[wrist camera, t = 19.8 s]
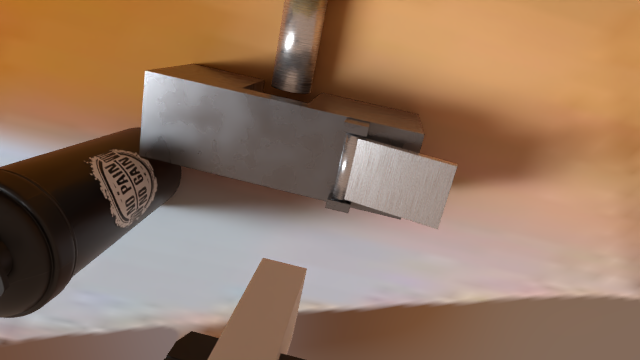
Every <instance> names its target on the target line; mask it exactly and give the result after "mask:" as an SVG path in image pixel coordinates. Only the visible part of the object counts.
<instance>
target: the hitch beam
mask: <svg viewBox="0 0 640 360" xmlns="http://www.w3.org/2000/svg"><path fill="white" fill-rule="evenodd" d="M264 81H265V80H263V79H259V78H254V77H250V76H245V75H241V74H236V73H232V72H228V71H223V70H219V69H214V68H210V67H205V66H201V65H196V64H188V65H181V66H174V67H167V68H160V69H153V70H146V71H145V80H144V94H143V108H142V122H141V136H140V150H139V156H143V157H147V158H152V159H156V160H160V161H164V162H168V163H172V164H176V165H180V166H184V167H188V168H192V169H196V170H201V171H205V172H209V173H213V174H217V175H221V176H225V177H229V178H233V179H237V180H241V181H245V182H250V183H254V184H258V185H262V186H266V187H270V188H274V189H278V190H282V191H286V192H290V193H294V194H299V195H303V196H307V197H311V198H315V199H319V200H323V201H327V202H326V207H325V208H329V209H333V210H337V211H341V212H345V213H348V212H349V208H350V207H352V208H356V209H360V210H364V211H368V212H372V213H376V214H380V215H384V216H388V217H392V218H396V219H401V217H398V216H395V215H392V214H389V213H386V212H382V211H379V210H376V209H373V208H370V207H367V206H364V205H361V204H358V203H355V202H351V201H348V200H338V199H336V198H334V197H333V191H334V187H335V182H336V178H337V173H338V169H339V164H340V160H341V155H342V151H343V146H344V142H345V138H346V133H352V134H357V135H361V136H362V137H363V138H367V139H370V140H374V141H378V142H381V143H385V144H388V145H392V146H395V147H399V148H403V149H406V150H410V151H413V152H417V153H419V152H420V149H421V145H422V142H423V138H424V135H425V134H424V131H423V128H422V125H421V121H420V118H419V115H418V114H414V113H410V112H405V111H401V110H396V109H392V108H388V107H383V106H379V105H374V104H370V103H365V102H361V101H356V100H352V99H348V98H343V97H339V96H334V95H330V94H325V93H321V94H320V95H318V96H317V97H316V98H315V99H313V100H312V101H311V102H310V103H306V102H301V101H297V100H293V99H288V98H284V97H279V96H275V95H271V94H266V93H263V88H264Z"/></svg>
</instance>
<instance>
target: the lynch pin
mask: <svg viewBox="0 0 640 360" xmlns="http://www.w3.org/2000/svg"><path fill="white" fill-rule="evenodd" d="M327 2H328V0H285V2H284V9H283V15H282V21H281V28H280V34H279V40H278V47H277V53H276V59H275V66H274V72H273V78H272V84H271V86H272V87H274V88H277V89H280V90H284V91H288V92H293V93H301V94H309V93H311V87H312V82H313V77H314V71H315V66H316V61H317V55H318V50H319V45H320V39H321V34H322V29H323V23H324V18H325V13H326V7H327Z"/></svg>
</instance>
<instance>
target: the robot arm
mask: <svg viewBox="0 0 640 360" xmlns="http://www.w3.org/2000/svg"><path fill="white" fill-rule="evenodd" d="M306 270H307V269H306V268H302V267H298V266H294V265H290V264H286V263H282V262H278V261H274V260H270V259H266V258H263V259H262V261H261V262H260V264H259V266H258V268H257V270H256V272H255V273H254V275H253V277H252V279H251V281H250V283H249V284H248V286H247V288H246V290H245V292H244V294H243V295H242V297H241V299H240V301H239V303H238V305H237V306H236V308H235V310H234V312H233V314H232V316H231V317H230V319H229V321H228V323H227V325H226V327H225V328H224V330H223V332H222V334H221V336H220V338H216V337H212V336H208V335H204V334H201V333H197V332H193V331H191V332H190V333H188V334H187V335H185V336H184V337H182V338H181V339H179V340H178V341H176V343H175V344H174V346H173V347H172V349H171V350H170V352H169V353H168V355H167V357H166V359H164V360H304V359H301V358H297V357H293V356H289V355H287V352H288V349H289V346H290V342H291V339H292V336H293V331H294V327H295V322H296V317H297V313H298V308H299V303H300V298H301V294H302V289H303V284H304V279H305V275H306Z"/></svg>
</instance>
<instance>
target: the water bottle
mask: <svg viewBox="0 0 640 360" xmlns="http://www.w3.org/2000/svg"><path fill="white" fill-rule="evenodd" d="M140 136H141V128H130V129H127V130H123V131H120V132H116V133H113V134H110V135H106V136H103V137H100V138H96V139H93V140H90V141H86V142H83V143H79V144H76V145H73V146H69V147H66V148H63V149H59V150H56V151H53V152H49V153H46V154H42V155H39V156H36V157H32V158H29V159H26V160H22V161H19V162H15V163H12V164H9V165H5V166H2V167H0V317H4V318H14V317H21V316H25V315H28V314H30V313H33V312H35V311H36V310H38V309H40V308H41V307H43V306H44V305H45V304H46V303H48V302H49V301H50V300H52V299H53V298H54V297H56V296H57V295H58V294H59V293H60V292H61V291H62V290H63V289H64V288H65V286H66V285H67V284H68V283H69V281H70V280H71V278H72V277H73V276H74V275H75V274H76V273H78V272H79V271H80V270H81V269H83V268H84V267H85V266H86V265H88V264H89V263H90V262H91V261H93V260H94V259H95V258H96V257H97V256H99V255H100V254H101V253H102V252H104V251H105V250H106V249H107V248H109V247H110V246H111V245H112V244H114V243H115V242H116V241H117V240H119V239H120V238H121V237H122V236H123V235H125V234H126V233H127V232H128V231H130V230H131V229H132V228H133V227H135V226H136V225H137V224H138V223H140V222H141V221H142V220H143V219H144V218H146V217H147V216H148V215H149V214H151V213H152V212H153V211H154V210H156V209H157V208H158V207H159V206H161V205H162V204H163V203H164V202H166V201H167V200H168V199H169V198H170V197H172V196H173V194H174V193H175V192H176V190H177V188H178V186H179V183H180V179H181V167H180V165H176V164H172V163H168V162H164V161H160V160H156V159H152V158H147V157H143V156H139V150H140Z"/></svg>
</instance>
